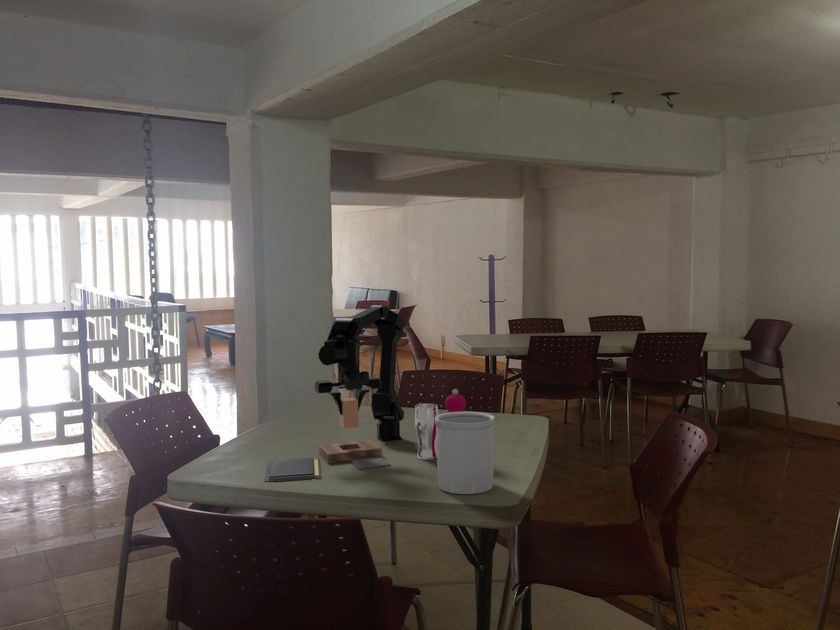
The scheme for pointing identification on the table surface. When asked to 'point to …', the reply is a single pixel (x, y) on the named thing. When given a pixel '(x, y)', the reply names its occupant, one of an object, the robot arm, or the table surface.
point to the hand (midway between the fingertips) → (348, 414)
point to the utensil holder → (465, 452)
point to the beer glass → (426, 430)
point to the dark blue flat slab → (293, 470)
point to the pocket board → (349, 451)
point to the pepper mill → (455, 402)
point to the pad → (370, 462)
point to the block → (349, 413)
